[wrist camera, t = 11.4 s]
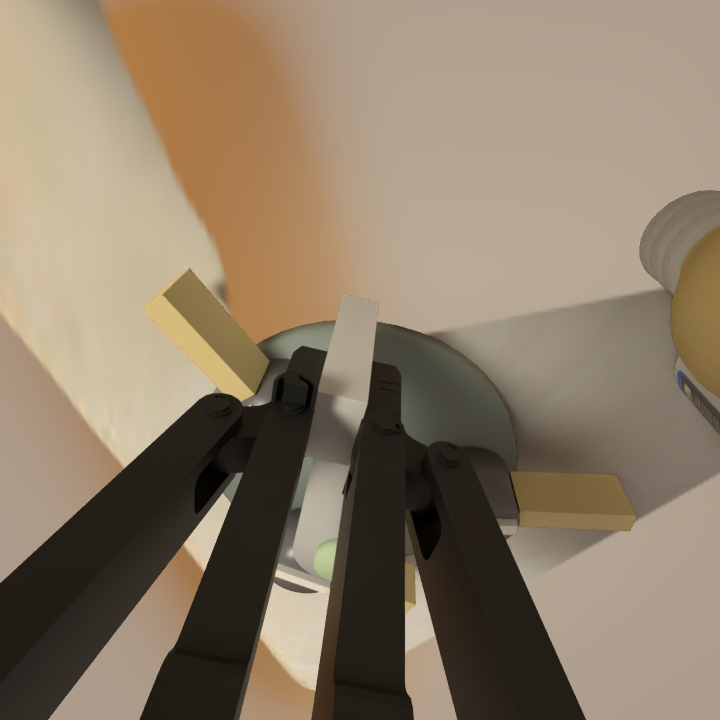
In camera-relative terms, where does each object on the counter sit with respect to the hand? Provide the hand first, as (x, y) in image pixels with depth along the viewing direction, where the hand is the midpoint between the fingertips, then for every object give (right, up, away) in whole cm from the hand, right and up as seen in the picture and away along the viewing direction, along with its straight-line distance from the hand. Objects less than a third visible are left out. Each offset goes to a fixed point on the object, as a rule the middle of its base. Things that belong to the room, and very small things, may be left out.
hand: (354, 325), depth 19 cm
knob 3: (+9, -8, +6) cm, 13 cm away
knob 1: (-5, -1, +3) cm, 6 cm away
